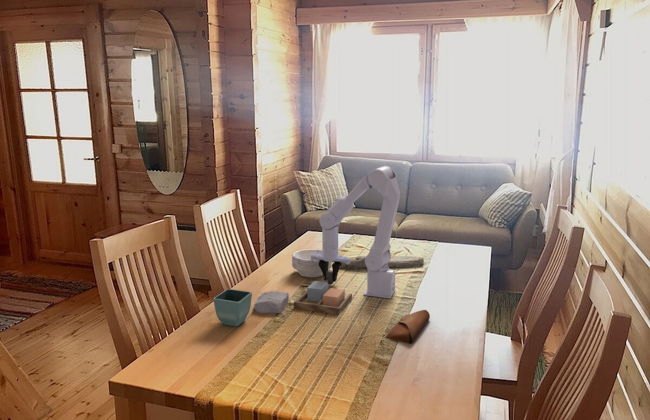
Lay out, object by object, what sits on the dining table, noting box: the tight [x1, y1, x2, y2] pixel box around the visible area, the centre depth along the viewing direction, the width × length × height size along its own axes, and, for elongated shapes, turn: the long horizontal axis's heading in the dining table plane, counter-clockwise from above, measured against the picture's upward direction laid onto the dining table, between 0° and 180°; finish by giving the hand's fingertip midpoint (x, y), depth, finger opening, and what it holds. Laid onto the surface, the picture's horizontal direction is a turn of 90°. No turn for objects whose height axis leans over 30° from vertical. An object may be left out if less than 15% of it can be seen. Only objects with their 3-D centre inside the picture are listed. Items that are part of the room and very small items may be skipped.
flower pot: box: [212, 288, 253, 328], centre depth 157 cm, size 9×9×9 cm
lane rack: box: [293, 290, 353, 316], centre depth 172 cm, size 15×14×2 cm
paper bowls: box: [291, 248, 332, 278], centre depth 200 cm, size 15×15×8 cm
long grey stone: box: [340, 255, 425, 271], centre depth 209 cm, size 35×5×10 cm
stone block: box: [253, 290, 290, 314], centre depth 170 cm, size 12×5×10 cm
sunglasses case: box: [384, 309, 431, 345], centre depth 152 cm, size 18×7×7 cm
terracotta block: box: [323, 287, 346, 307], centre depth 170 cm, size 5×7×4 cm
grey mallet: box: [306, 269, 334, 303], centre depth 181 cm, size 5×17×5 cm, turn 160°
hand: (330, 280), depth 188 cm, fingers closed on grey mallet, 3 cm apart
